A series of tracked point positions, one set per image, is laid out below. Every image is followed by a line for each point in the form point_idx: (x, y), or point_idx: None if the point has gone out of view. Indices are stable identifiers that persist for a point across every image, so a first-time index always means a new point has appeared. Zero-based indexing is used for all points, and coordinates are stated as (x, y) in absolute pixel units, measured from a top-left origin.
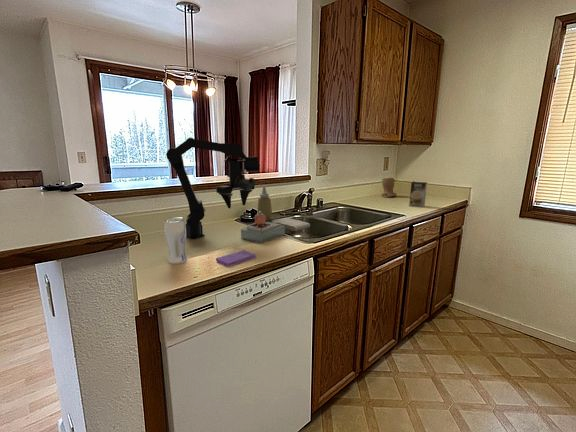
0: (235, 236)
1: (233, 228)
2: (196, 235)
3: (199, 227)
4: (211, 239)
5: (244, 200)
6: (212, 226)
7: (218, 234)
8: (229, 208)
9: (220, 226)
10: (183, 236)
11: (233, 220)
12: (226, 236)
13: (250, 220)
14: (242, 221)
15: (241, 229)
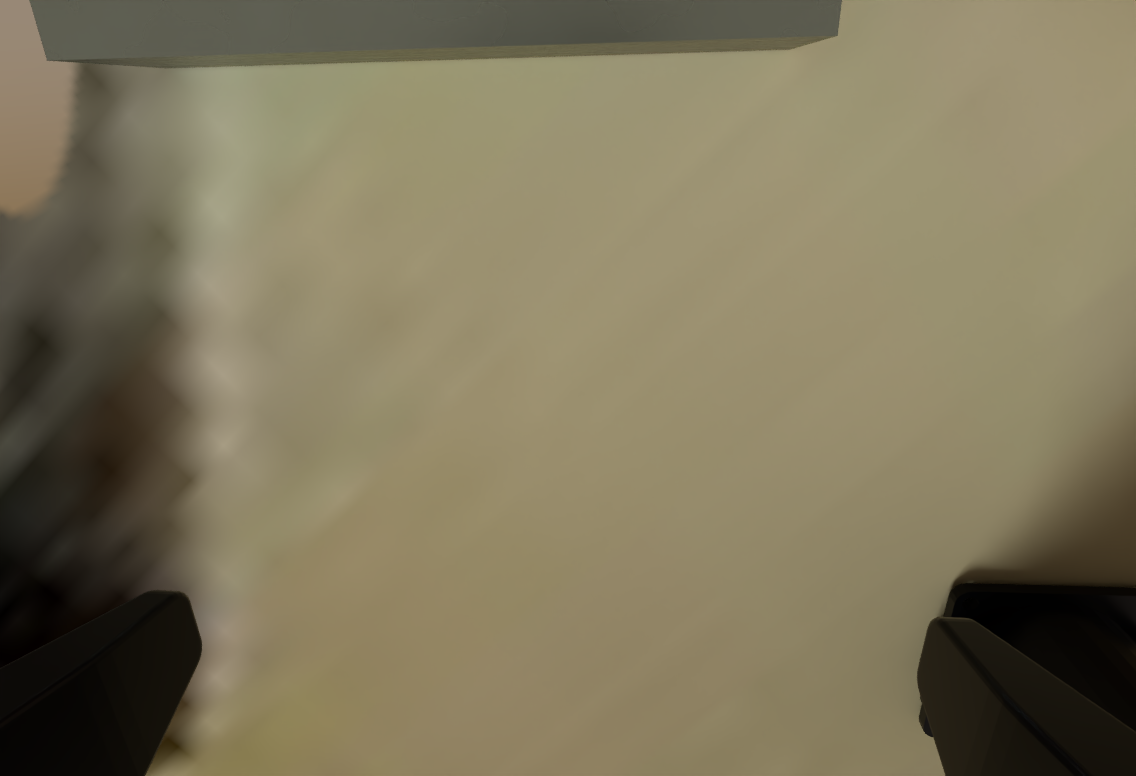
0: (748, 219)
1: (447, 535)
2: (1099, 620)
3: (1106, 701)
4: (1061, 399)
5: (26, 745)
6: (557, 771)
7: (799, 493)
8: (956, 634)
9: (494, 709)
10: None
11: (198, 762)
12: (823, 334)
13: (18, 619)
14: None
15: (832, 22)
